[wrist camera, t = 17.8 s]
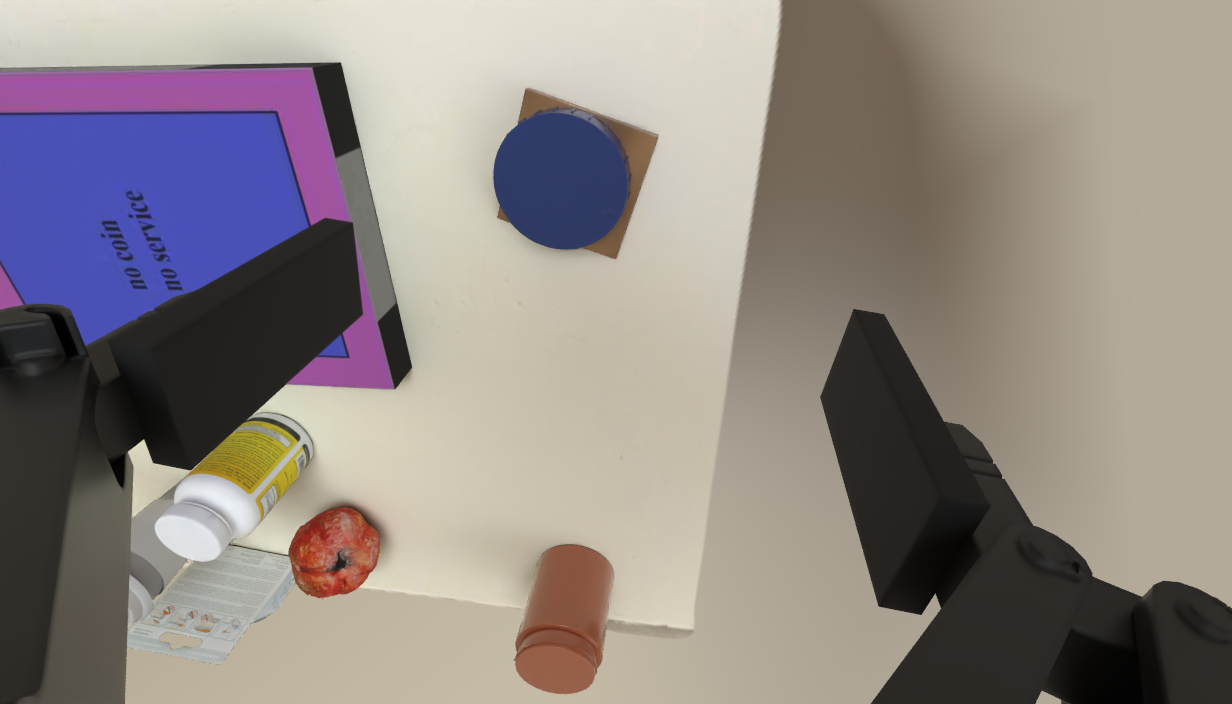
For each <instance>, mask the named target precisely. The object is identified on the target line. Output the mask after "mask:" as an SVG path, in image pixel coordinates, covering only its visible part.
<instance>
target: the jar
mask: <svg viewBox="0 0 1232 704" xmlns="http://www.w3.org/2000/svg"><path fill="white" fill-rule="evenodd" d="M613 579H614V572H613V569H612V566H611V565H610V563H609V562H608V561H607V559H606V558H604V557H603V556H602V555H601V554H599V553H598V552H596V551H594V550H592V549H589V548H587V547H583V546H578V545H560V546H556V547H553V548H551V549H549V550H547V551H546V552H544V553H543V554H542V556H541V557H540V559H539V561H538V564H537V568H536V571H535V575H534V578H533V582H532V586H531V589H530V593H529V596H528V600H527V603H526V607H525V611H524V614H523V618H522V622H521V625H520V628H519V632H518V636H517V639H516V650H517V655H516V657H515V659H514V660H515V661H516V662H515V665H516V669H517V672H518V674H519V675H520V676H521V678H522V679H523V680H524V681H526V682H527V683H528V684H530V685H532V686H534V687H536V688H538V689H540V690H543V691H546V692H551V693H556V694H572V693H577V692H580V691H583V690H585V689H587V688H588V687H589V686H590V685H591V684H592V683H593V681H594V677H595V675H596V673H597V668H598V667H599V666H600V664H601V662H602V657H603V650H604V643H605V636H606V629H607V622H608V615H609V608H610V601H611V594H612V587H613Z"/></svg>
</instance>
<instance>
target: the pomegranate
mask: <svg viewBox="0 0 1232 704" xmlns="http://www.w3.org/2000/svg"><path fill="white" fill-rule="evenodd" d="M288 553H289V558H290V562H291V566H292V571H293V575H294V578H295V583H296V584H297V585H298V587H299V588H300V589H301V590H302V591H303V592H305V593H306V594H307V595H311V596H315V597H318V598H322V599H323V598H325V597H329V596H334V595H337V594H347V593H350V592H352V591H354V590H356V589H357V588H358V587H359V586H360V585H361V584H363V583H364V581H365V580H366V579H367V577H368V575H369V573H370V572H372V571H373V570H374V568H375V567H376V565H377V561H378V557H379V553H380V542H379V536H378V534H377V531H376V529H374V528H373V527H371V526H370V525H369V524H367V523H366V522H365V520H364V518H363V517H362V515H361V514H360V513H359V512H358V511H356V510H354V509H351V508H344V507H340V508H332V509H329V510H327V511H325V512H323V513H321V514H319V515H316V516H315V517H314V518H313V519H311V520H310V521H309V522H307V523H306V524H305V525H302V526H301V527H300V528H299V529H298V531H297V532H296V534H295V536H294V538H293V540H292V542H291V545H290V548H289V552H288Z"/></svg>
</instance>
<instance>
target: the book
mask: <svg viewBox="0 0 1232 704" xmlns="http://www.w3.org/2000/svg"><path fill="white" fill-rule="evenodd" d="M324 218H330V219H336V220H342V221H348V222H353V226H354V235H355V244H356V253H357V262H358V272H359V281H360V290H361V299H362V308H363V315H362V316H361V317H360V318H359V319H358V320H357V321H355V322H354V323H353V324H352V325H351V326H350V327H349V328H348V329H347V330H345V331H344V332H343V333H342V334H341V335H340V336H339V337H338V338H337V339H336V340H334V341H333V342H332V343H331V344H330V345H329V346H328V347H327V348H326V349H324V350H323V351H322V352H321V353H320V354H319V355H318V356H317V357H316V358H315V359H313V360H312V361H311V362H310V363H309V364H308V365H307V366H306V367H305V368H303V369H302V370H301V371H300V372H299V373H298V374H297V375H296V376H295V377H294V378H292V379H291V380H290V381H289V382H288V383H287V384H290V385H311V386H332V387H353V388H374V389H396V388H397V386H398V385H399V384H400V382H401V381H402V380H403V378H404V377H405V376H406V375H407V373H408V372H409V371H410V369H411V368H412V365H411V361H410V357H409V353H408V348H407V344H406V340H405V336H404V331H403V327H402V323H401V318H400V314H399V310H398V306H397V301H396V297H395V293H394V288H393V284H392V280H391V276H390V271H389V267H388V263H387V258H386V254H385V250H384V246H383V241H382V237H381V233H380V229H379V224H378V220H377V216H376V211H375V207H374V203H373V199H372V194H371V190H370V186H369V181H368V177H367V173H366V169H365V164H364V160H363V156H362V152H361V147H360V143H359V139H358V134H357V130H356V126H355V122H354V117H353V113H352V109H351V104H350V100H349V96H348V92H347V87H346V83H345V79H344V74H343V70H342V66H341V63H282V64H222V65H161V66H101V67H40V68H0V310H1V309H4V308H9V307H14V306H20V305H26V304H45V303H46V304H55V305H62V306H64V307H66V308H69V309H71V311H72V314H73V316H74V319H75V321H76V324H77V326H78V329H79V331H80V334H81V336H82V339H83V341H84V344H85V346H86V345H88V344H90V343H92V342H94V341H95V340H97V339H99V338H101V337H103V336H104V335H106V334H108V333H110V332H112V331H114V330H115V329H117V328H119V327H121V326H123V325H124V324H126V323H128V322H130V321H132V320H137V317H139V316H141V315H142V314H144V313H146V312H148V311H150V310H151V311H154V308H155V307H157V306H159V305H161V304H162V303H164V302H166V301H168V300H170V299H171V298H173V297H176V296H179V295H182V294H185V293H188V292H192V291H195V290H198V289H200V288H201V287H203V286H205V285H207V284H208V283H210V282H212V281H214V280H216V279H217V278H219V277H221V276H223V275H224V274H226V273H228V272H230V271H232V270H233V269H235V268H237V267H239V266H240V265H242V264H244V263H246V262H247V261H249V260H251V259H253V258H255V257H256V256H258V255H260V254H262V253H263V252H265V251H267V250H269V249H271V248H272V247H274V246H276V245H278V244H279V243H281V242H283V241H285V240H286V239H288V238H290V237H292V236H294V235H295V234H297V233H299V232H301V231H302V230H304V229H306V228H308V227H310V226H311V225H313V224H315V223H317V222H318V221H320V220H322V219H324Z"/></svg>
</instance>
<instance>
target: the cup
mask: <svg viewBox="0 0 1232 704" xmlns="http://www.w3.org/2000/svg"><path fill="white" fill-rule="evenodd" d="M182 480H183V479H182ZM182 480H181V481H182ZM181 481H180V482H179V483H177V484H176V485H175V486H174V487H173V488H171V489H170V490H169V491H168V492H166V493H165V494H164V495H163V496H162V497H160V498H159V499H158V500H155V501H153V502H152V503H150V504H149V505H148V506H147V507H146V508H144V509H143V510H142V511H141V512H139V513H138V514H137V515H136V516H134V517H133V518H132V519H131V545H130V573H129V600H128V627H129V626H130V625H131V624H133V623H134V622H138V621H140V620H142V619H144V618H145V617H146V616H148V615H149V614H150V613H151V612H152V610H153V600H154V598H155V597H156V596H157V595H159V594H161V593H162V591H163V590H164V589H165V588H166V586H167V585H168V584H169V583H170V581H171V580H172V579H173V578H174V576H175V575H176V574H177V573H178V571H179V570H180V569H181V568H182V566H183V565H184V564H185V563H186V561H187V560H188V559H187V558H184V557H182V556H180V555H178V554H176V553H175V552H173V551H171V550H170V549H169V548H168V547H166V546H165V545H164V544H163V543H162V542H161V540H160V539H159V538H158V536H157V534H156V532H155V523H156V521H157V520H158V519H159V517H160V516H161V515H162V514H163V513H164V512H165V511H166V510H167V509H168V508H169V507H171V506H172V505H174V494H175V491H176V488H177V486H178V485H179V484H180V483H181Z"/></svg>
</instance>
